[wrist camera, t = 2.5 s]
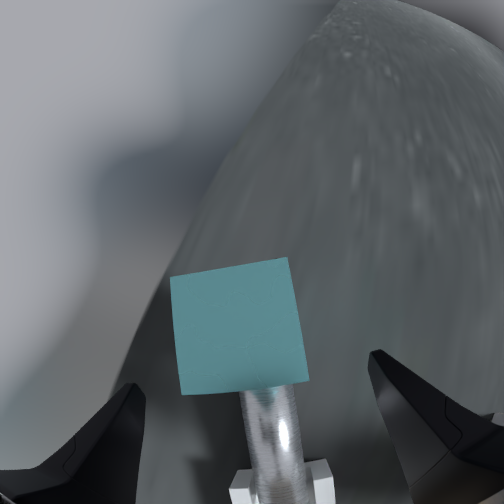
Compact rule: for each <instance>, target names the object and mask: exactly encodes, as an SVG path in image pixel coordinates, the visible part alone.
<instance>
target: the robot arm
mask: <svg viewBox="0 0 504 504" xmlns="http://www.w3.org/2000/svg"><path fill="white" fill-rule="evenodd" d="M368 372H369V375H370V379H371V382H372V386H373V389H374V393H375V397H376V400H377V404H378V407H379V409H380V412H381V414H382V417H383V419H384V422H385V424H386V427H387V429H388V432H389V434H390V437H391V440H392V442H393V445H394V448H395V450H396V453H397V456H398V458H399V461H400V464H401V467H402V469H403V472H404V475H405V478H406V481H407V484H408V487H409V490H410V493H411V496H412V499H413V503H414V504H504V426H501V425H497V424H495V423H493V422H491V421H489V420H487V419H485V418H483V417H481V416H479V415H477V414H475V413H473V412H471V411H470V410H468V409H466V408H464V407H463V406H461V405H460V404H458V403H457V402H455V401H454V400H452V399H451V398H449V397H448V396H446V395H445V394H443V393H442V392H441V391H439V390H438V389H436V388H435V387H434V386H432V385H431V384H429V383H428V382H426V381H425V380H424V379H422V378H421V377H419V376H418V375H417V374H415V373H414V372H412V371H411V370H410V369H408V368H407V367H405V366H404V365H402V364H401V363H400V362H398V361H397V360H395V359H394V358H393V357H391V356H390V355H388V354H387V353H386V352H384V351H383V350H381V349H378V350H375V351H372V352H370V355H369V361H368ZM145 404H146V398H145V395H144V393H143V392H142V391H141V389H140V388H139V386H138V385H137V384H136V383H126V384H125V385H124V386H123V387H122V388H121V389H120V390H119V391H118V392H117V393H116V394H115V395H114V396H113V397H112V398H111V399H110V400H109V401H108V402H107V403H106V404H105V405H104V406H103V407H102V408H101V409H100V410H99V411H98V412H97V413H96V414H95V415H94V416H93V417H92V418H91V419H90V420H89V421H88V422H87V423H86V424H85V425H84V426H83V427H82V428H81V429H80V430H79V431H78V432H77V433H76V434H75V435H74V436H73V437H72V438H71V439H70V440H69V441H68V442H67V443H66V444H65V445H63V446H62V447H61V448H60V449H59V450H58V451H56V452H55V453H54V454H53V455H52V456H50V457H49V458H48V459H47V460H45V461H44V462H43V463H42V464H40V465H39V466H37V467H35V468H32V469H22V470H0V493H2V494H3V495H1V494H0V504H135V502H136V491H137V481H138V472H139V464H140V456H141V449H142V442H143V435H144V424H145Z"/></svg>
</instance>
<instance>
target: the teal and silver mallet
mask: <svg viewBox="0 0 504 504" xmlns="http://www.w3.org/2000/svg"><path fill="white" fill-rule="evenodd" d="M170 285H171V301H172V315H173V327H174V337H175V347H176V356H177V364H178V372H179V380H180V387H181V393H182V395H198V394H214V393H227V392H237V391H239V396H240V402H241V408H242V414H243V420H244V426H245V432H246V438H247V444H248V449H249V455H250V460H251V466H252V471H253V476H254V481H255V486H256V491H257V496H258V501H259V504H310V502H309V494H308V487H307V479H306V472H305V464H304V457H303V450H302V443H301V436H300V429H299V423H298V416H297V409H296V403H295V396H294V390H293V384H294V383H300V382H305V381H309V375H308V369H307V363H306V357H305V351H304V345H303V339H302V333H301V328H300V322H299V317H298V311H297V306H296V300H295V295H294V290H293V285H292V280H291V274H290V269H289V264H288V259H287V257H284V258H278V259H273V260H267V261H262V262H256V263H250V264H244V265H239V266H233V267H227V268H222V269H216V270H210V271H204V272H198V273H192V274H186V275H180V276H174V277H170Z"/></svg>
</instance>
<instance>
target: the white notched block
mask: <svg viewBox="0 0 504 504" xmlns="http://www.w3.org/2000/svg"><path fill="white" fill-rule="evenodd" d="M304 464H305V472H306V479H307V487H308V494H309V502H310V504H335V492H334V481H333V475H332V473H331V470H330V468H329V465H328V463H327V460H326V459H321V460H316V461H311V462H305V463H304ZM229 492H230V496H231V500H232V504H259V501H258V496H257V491H256V486H255V481H254V476H253V471H252V469H246V470H237V473H236V475H235V477H234V479H233V481H232V483H231V486H230V488H229Z"/></svg>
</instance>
